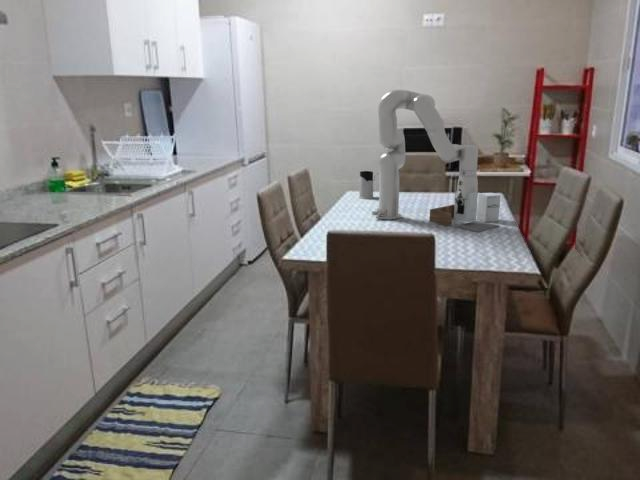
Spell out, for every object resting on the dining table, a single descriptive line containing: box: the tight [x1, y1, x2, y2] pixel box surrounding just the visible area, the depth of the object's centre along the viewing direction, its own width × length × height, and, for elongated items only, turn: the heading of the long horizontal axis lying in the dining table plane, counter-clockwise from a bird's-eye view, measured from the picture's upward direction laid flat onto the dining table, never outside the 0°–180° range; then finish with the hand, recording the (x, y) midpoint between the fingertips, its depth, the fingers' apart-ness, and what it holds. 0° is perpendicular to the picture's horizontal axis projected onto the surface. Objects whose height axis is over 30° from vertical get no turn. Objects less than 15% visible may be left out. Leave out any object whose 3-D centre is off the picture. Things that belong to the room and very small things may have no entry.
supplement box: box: [476, 192, 501, 223], centre depth 249 cm, size 7×7×13 cm
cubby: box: [429, 204, 455, 227], centre depth 248 cm, size 17×12×6 cm
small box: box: [453, 190, 479, 223], centre depth 240 cm, size 8×6×13 cm
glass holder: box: [358, 170, 379, 200], centre depth 307 cm, size 9×14×15 cm, turn 118°
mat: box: [454, 220, 500, 233], centre depth 237 cm, size 16×12×1 cm
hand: (465, 212), depth 241 cm, fingers closed on small box, 6 cm apart
